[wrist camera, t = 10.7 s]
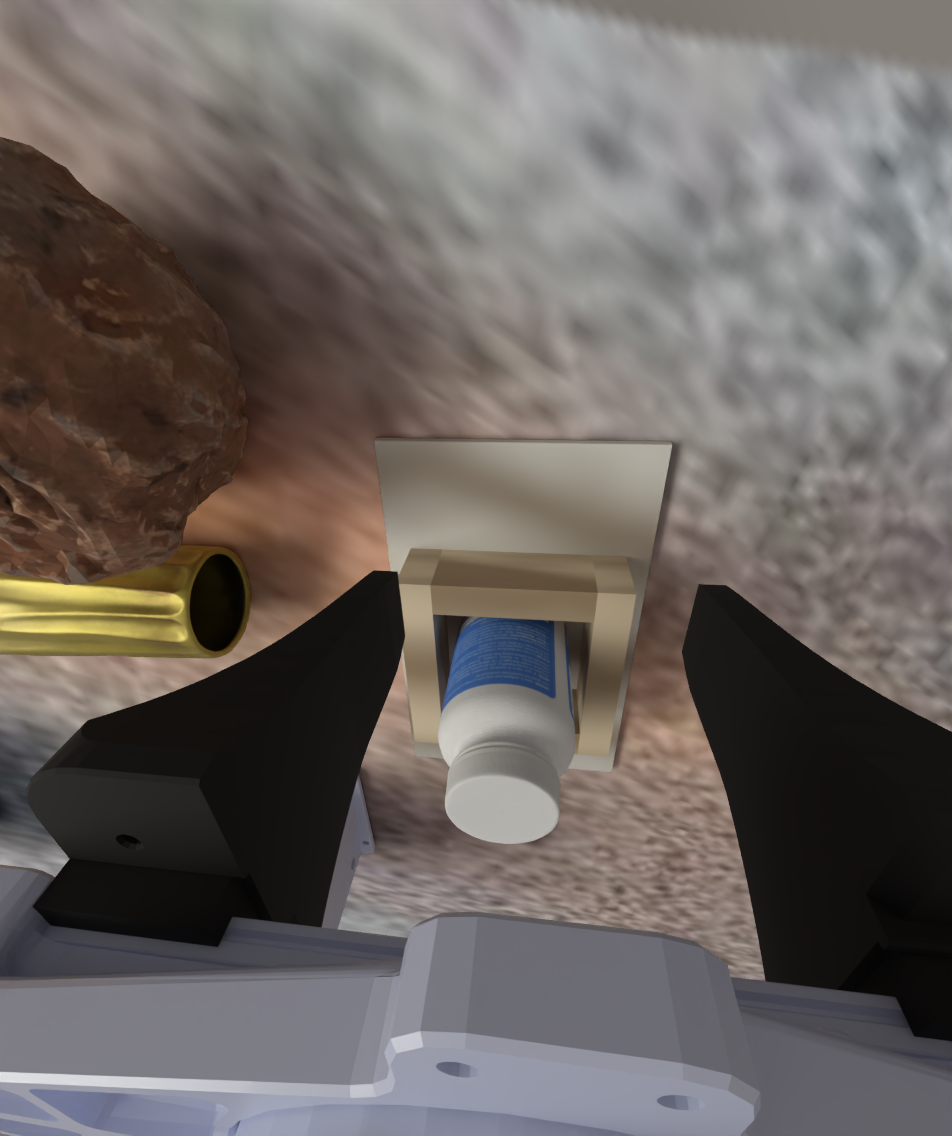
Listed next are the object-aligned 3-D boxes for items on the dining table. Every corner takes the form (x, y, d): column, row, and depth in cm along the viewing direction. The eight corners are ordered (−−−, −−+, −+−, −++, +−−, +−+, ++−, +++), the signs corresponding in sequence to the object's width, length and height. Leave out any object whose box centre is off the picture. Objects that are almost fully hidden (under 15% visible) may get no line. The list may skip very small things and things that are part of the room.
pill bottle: (438, 619, 26) (388, 791, 17) (524, 566, 23) (514, 736, 15) (504, 685, 28) (487, 870, 19) (589, 643, 25) (611, 830, 17)
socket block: (610, 766, 31) (617, 819, 28) (416, 750, 32) (403, 799, 29) (670, 441, 20) (691, 472, 17) (376, 437, 21) (350, 466, 19)
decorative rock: (1, 94, 17) (-550, -67, 8) (323, 255, 18) (132, 256, 10) (26, 444, 24) (-262, 551, 15) (258, 542, 25) (113, 688, 17)
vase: (6, 647, 28) (254, 656, 27) (-136, 669, 22) (177, 681, 21) (9, 537, 28) (257, 541, 27) (-133, 528, 22) (181, 532, 21)
